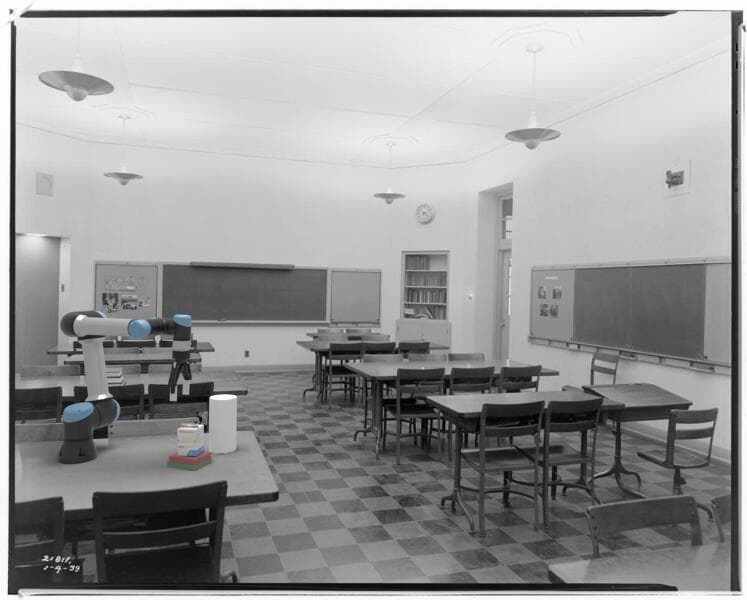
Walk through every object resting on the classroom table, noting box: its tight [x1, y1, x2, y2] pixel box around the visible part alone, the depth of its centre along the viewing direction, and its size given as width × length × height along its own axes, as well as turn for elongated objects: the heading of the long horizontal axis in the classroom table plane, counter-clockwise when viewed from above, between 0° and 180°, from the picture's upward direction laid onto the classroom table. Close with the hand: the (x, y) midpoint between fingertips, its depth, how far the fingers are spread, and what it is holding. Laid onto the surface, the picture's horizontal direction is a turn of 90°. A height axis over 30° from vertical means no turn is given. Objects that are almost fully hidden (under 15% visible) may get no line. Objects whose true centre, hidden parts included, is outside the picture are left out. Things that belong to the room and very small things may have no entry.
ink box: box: [176, 423, 205, 456], centre depth 239 cm, size 9×8×13 cm
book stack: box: [166, 450, 213, 472], centre depth 238 cm, size 14×12×5 cm
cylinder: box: [208, 393, 238, 454], centre depth 260 cm, size 12×12×25 cm
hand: (179, 397), depth 245 cm, fingers open, 13 cm apart
